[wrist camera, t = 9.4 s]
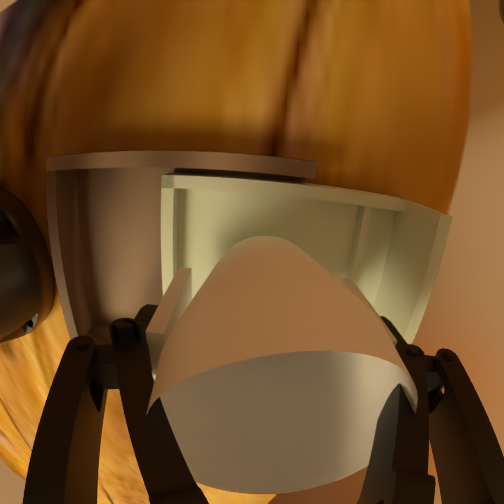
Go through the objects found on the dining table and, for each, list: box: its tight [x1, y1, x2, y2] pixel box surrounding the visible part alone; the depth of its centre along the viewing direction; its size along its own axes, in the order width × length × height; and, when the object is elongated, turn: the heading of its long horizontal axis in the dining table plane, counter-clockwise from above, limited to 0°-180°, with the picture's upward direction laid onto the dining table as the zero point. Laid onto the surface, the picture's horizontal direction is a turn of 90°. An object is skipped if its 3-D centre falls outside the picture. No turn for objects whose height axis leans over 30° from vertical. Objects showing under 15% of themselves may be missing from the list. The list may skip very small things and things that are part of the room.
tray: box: [161, 173, 452, 344], centre depth 18 cm, size 17×13×6 cm
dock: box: [45, 151, 317, 345], centre depth 19 cm, size 18×16×3 cm
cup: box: [146, 236, 418, 494], centre depth 13 cm, size 9×9×12 cm
